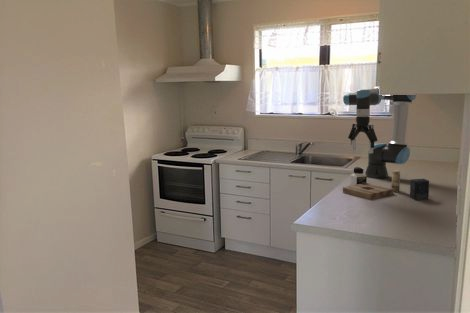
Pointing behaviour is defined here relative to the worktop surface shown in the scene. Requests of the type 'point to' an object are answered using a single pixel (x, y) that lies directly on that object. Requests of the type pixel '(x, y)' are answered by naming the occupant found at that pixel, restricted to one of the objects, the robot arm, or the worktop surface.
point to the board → (368, 190)
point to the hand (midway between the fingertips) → (361, 152)
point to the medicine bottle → (358, 176)
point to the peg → (395, 180)
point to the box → (419, 189)
